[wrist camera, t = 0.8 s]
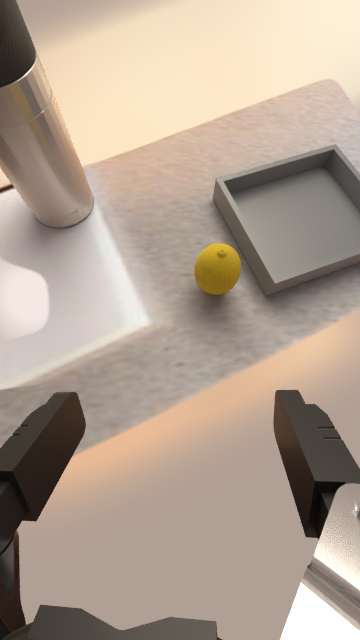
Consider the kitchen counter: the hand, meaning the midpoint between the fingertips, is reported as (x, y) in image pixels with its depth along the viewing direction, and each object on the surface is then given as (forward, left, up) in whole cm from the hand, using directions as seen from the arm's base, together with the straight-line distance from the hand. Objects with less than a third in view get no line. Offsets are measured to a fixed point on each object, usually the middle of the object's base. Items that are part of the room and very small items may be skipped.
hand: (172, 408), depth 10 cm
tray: (-18, +26, -21) cm, 38 cm away
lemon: (-13, +10, -21) cm, 27 cm away
